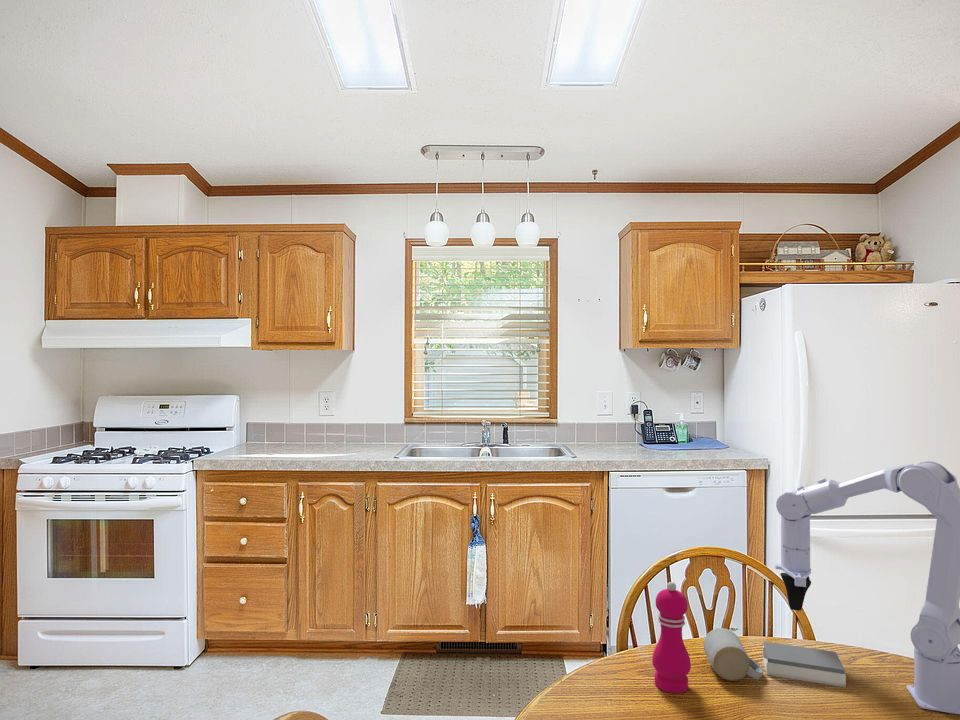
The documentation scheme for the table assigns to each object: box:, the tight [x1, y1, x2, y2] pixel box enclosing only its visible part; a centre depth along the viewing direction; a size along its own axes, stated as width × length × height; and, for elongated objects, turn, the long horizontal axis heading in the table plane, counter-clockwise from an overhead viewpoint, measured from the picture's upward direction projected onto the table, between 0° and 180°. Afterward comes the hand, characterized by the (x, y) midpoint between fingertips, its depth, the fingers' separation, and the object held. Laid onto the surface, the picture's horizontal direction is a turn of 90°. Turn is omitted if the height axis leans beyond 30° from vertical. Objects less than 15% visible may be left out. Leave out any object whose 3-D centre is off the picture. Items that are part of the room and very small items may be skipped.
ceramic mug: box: [703, 627, 764, 682], centre depth 123 cm, size 11×8×8 cm
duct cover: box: [763, 641, 846, 674], centre depth 124 cm, size 14×8×1 cm, turn 70°
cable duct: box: [762, 645, 847, 688], centre depth 124 cm, size 14×8×2 cm, turn 70°
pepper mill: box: [651, 581, 692, 694], centre depth 119 cm, size 7×7×20 cm
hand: (795, 609), depth 133 cm, fingers closed
